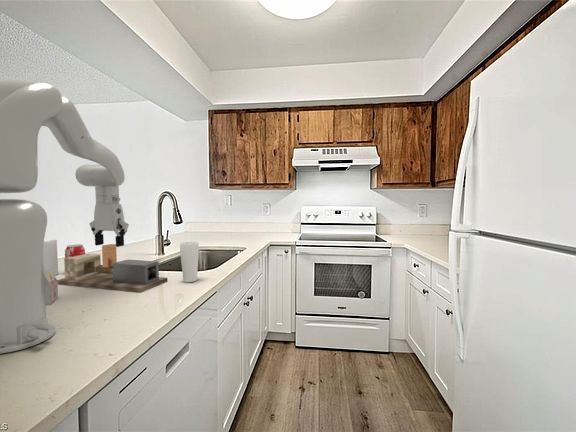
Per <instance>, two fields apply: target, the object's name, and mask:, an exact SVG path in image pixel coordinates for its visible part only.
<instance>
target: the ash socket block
mask: <svg viewBox="0 0 576 432" xmlns="http://www.w3.org/2000/svg"><path fill="white" fill-rule="evenodd" d="M101 260H102V259H101V254H99V253H85V254H84V255H79V256H74V257H68V258H65V257H64V261H63V262H64V264H63V265H64V278H65V279H68V280H80V279H84V278H88V277H91V276H95V275H98V274H101V273H97V272H96V267H97V266H98V265H102V262H101Z"/></svg>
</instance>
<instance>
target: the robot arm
mask: <svg viewBox="0 0 576 432" xmlns="http://www.w3.org/2000/svg"><path fill="white" fill-rule="evenodd" d="M42 127H46V128H48V129H49V131H50V132H51V133H52V135H53V137H54V138H55V139H56V141H57V143H58V144H59V145H60V147H61V148H62V150H63V151H64V152H66V153H68V154H70V155H73V156H75V157H78V158H81V159H84V160H87V161H91V162H94V163H97V164H83V165H80V166H78V167H77V168H76V170H75V172H74V175H75V180H76V181H77V182H78V183H79V184H80V185H82V186H85V187H94V189H95V190H94V191H95V192H94V193H95V206H94V211H93V214H94V215H93V220H92V221H91V222H89V227H90V228H91V229H90V230H91V231H92V233H93V236H94V245H95V246H102V245H105V244H104V242H105V241H104V233H103V232H105V231H106V232H107V231H109V232H114V233H115V235H116V236H115V244H116V248H119V247H124V246H125V235H126V233H127V232H128V229H129V225H130V224H129V223H128V222H126V221H125V214H124V210H123V206H122V204H121V203H120V201H121V197H120V186H121V185H123V184H124V182H125V177H126V176H125V171H124V168H123V166H122V164H121V162H120V159H119V158H118V156H117V155H116V153H114V152H113V151H112V150H110V149H109V148H108V147H107V146H105V145H104V144H103V143H100V142H99V141H97V140H96V139H94V138H92V136H91V134H90V132H89V130H88V128H87V126H86V124H85V123H84V121H83V119H82V117H81V115H80V113H79V111H78V110H77V107H76V106H75V104H74V103H73V101H72V100H71V99H70V98H67V97H66V96H63V95H62V93H61V91H60V90H59V89H58V88H57V87H56V86H54V85H53V84H50V83H47V82H42V81H33V80H32V81H31V80H18V79H17V80H15V79H14V80H11V79H9V80H8V79H0V194H20V193H28V192H29V191H32V190H33V189H35V188H36V186H37V183H38V177H39V176H38V175H39V174H38V173H39V172H38V171H39V168H38V167H39V166H38V165H39V162H38V161H39V160H38V159H39V158H38V156H39V154H38V140H39V139H38V137H39V133H40V130H41V128H42ZM47 225H48V215H47V212H46V210H45V208H44V207H43V206H42V205H40V204H39V203H37V202H35V201H31V200H28V199H27V200H26V199H19V198H18V199H16V198H15V199H13V198H12V199H11V198H10V199H9V198H6V199H5V198H1V199H0V354H6V353H11V352H17V351H20V350H24V349H27V348H30V347H34V346H36V345H39V344H41V343H44V342H45V341H47V340H49V339H51V338H52V337H53V336H54V334H55V333H56V327H55V325H53V324H51V323H49V318H48V317H47V310H46V309H47V308H46V307H47V305H45V284H44V264H43V245H44V239H45V238H46V237H45V235H46V231H47Z"/></svg>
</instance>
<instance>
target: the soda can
mask: <svg viewBox="0 0 576 432" xmlns="http://www.w3.org/2000/svg"><path fill="white" fill-rule="evenodd" d="M84 254H86V249H85V247H84V244H82V243H81V244H80V243H79V244H69V245H68V244H67V245H66V248H65V249H64V258H68V257H74V256H79V255H84Z"/></svg>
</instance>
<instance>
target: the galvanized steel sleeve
mask: <svg viewBox="0 0 576 432" xmlns="http://www.w3.org/2000/svg"><path fill="white" fill-rule="evenodd" d="M159 263H160V262H159V261H158V260H157V261H156V260H140V259H124V260H121V261H117V262H116V263H113V282H116V283H127V284H138V285H147V284H150V283H152V282H155V281H157V280H159V277H160V273H159V272H160V269H159V267H160V265H159ZM148 268H149V269H150V271H151V273H150V275H149V276H148Z"/></svg>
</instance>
